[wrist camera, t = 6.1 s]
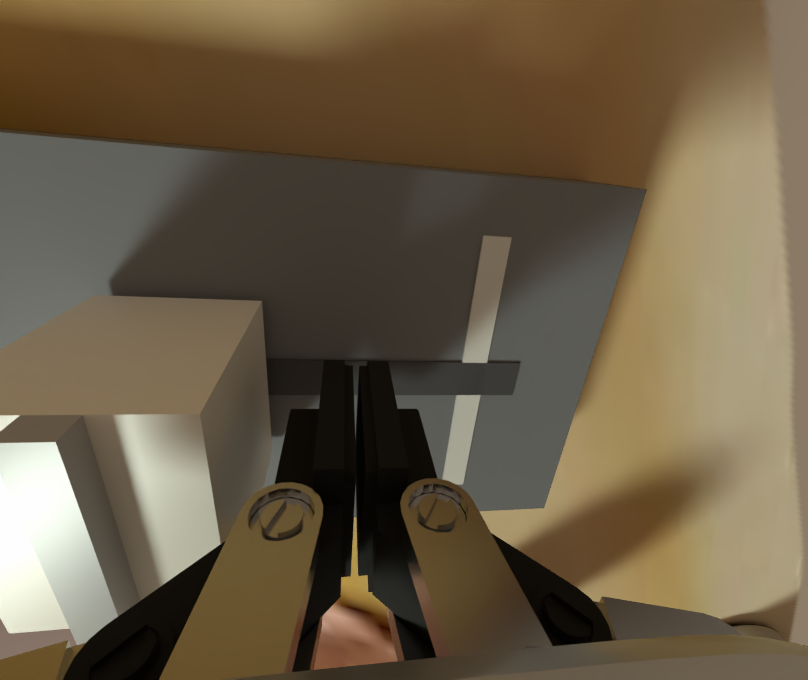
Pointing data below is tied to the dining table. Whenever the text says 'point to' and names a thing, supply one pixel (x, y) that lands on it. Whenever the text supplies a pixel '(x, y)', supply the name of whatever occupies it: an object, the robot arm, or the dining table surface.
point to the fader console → (341, 278)
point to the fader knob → (124, 452)
